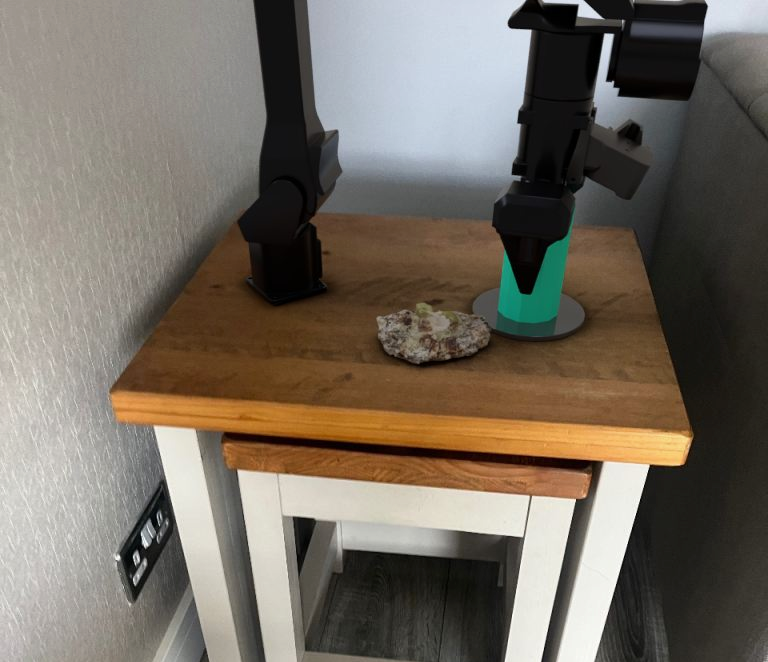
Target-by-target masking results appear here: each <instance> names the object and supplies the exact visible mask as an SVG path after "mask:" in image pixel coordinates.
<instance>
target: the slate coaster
mask: <svg viewBox="0 0 768 662" xmlns="http://www.w3.org/2000/svg"><path fill="white" fill-rule="evenodd" d="M499 295H500V286H499V287H496V288H492V289H489V290H486V291H484V292H483V293H481V294H479V295H478V296H477V297H476V298H475V299H474V301H473V303H472V309H471V310H472V311H471V314H476V315H478V316H483V317H485V318H486V319H487V321H488V325H489V326H490V327H491V328H492V330H491V331H490V333H493V334H495V335H498V336H501V337H504V338H508V339H513V340H517V341H518V340H519V341H526V342H547V341H555V340H560V339H563V338H567V337H569V336H571V335H573V334H575V333H577V332H578V331H579V330H580V329H581V328H582V326H583V325H584V323H585V322H584V321H585V318H586V314H585V310H584V308H583V307H582V305H581V304H580V303H579V302H578V301H577V300H575V299H574V298H573V297H571V296H569V295H567V294H565V293H563V292H561V296H560V302H559V308H558V314H557V316H555V317H554V318H552V319H551V320H550V321H545V322H540V323H525V322H517V321H515V320H512V319H509V318H506V317H504V316H503V315H502V314H501V313H500V312H499V311H498V304H499Z"/></svg>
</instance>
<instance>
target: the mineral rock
mask: <svg viewBox="0 0 768 662" xmlns="http://www.w3.org/2000/svg"><path fill="white" fill-rule="evenodd" d="M375 320H376V322H377V327H378V329H377V339H378V340H379V341H380V342H381V344H382V346H383V350H384V351H385V352H386V353H387V354H388V355H389V356H392V355H393V356H394V357H396V358H399V359H403V360H405V361H408V362H409V363H412V364H414V365H420V363H426V362H432V361H435V362H443V361H446V360H451V359H456V358H461V357H465V356H466V357H471V356H472V355H473V354H475V353H478V351H479V349H484V348H485V347H486V346H488V343H489V341H490V340H491V337H492V335H491V330H492V328H491V327H490V326H489V325H488V321H487V319H486V318H485V317H483V316H478V315H476V314H473V313H471V314H470V313H469V314H467V313H463V312H461V311H455V310H445V311H444V310H440V309H439V310H437V311H434V308H433V306H432V305H430V304H428V303H426V302H419V303H416V305H415V310H410V309H401V310H400V311H397V312H393V313H391V314H388V315H385V316H382V315H381V316H380V315H378V316H377V317H376V319H375Z"/></svg>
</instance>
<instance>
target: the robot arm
mask: <svg viewBox="0 0 768 662" xmlns="http://www.w3.org/2000/svg"><path fill="white" fill-rule="evenodd" d="M583 2H585V3H586V5H587V6H589V7H590V8H591V9H592V10H593V11H594V12H595V13H596V14H597V15H598V16H599V17H600V18H597V17H596V18H595V17H594V18H593V17H587V16H579V8H580V3H566V2H565V3H564V2H563V3H562V2H545V1H543V0H524V2H523V3H522V4H521V5H520V6H519V7H517V9H515V10H514V11H512V13H511V15H510V16H509V18H508V20H507V23H506V24H507V27H508V29H510V30H524V31H525V30H526V31H530V40H529V48H528V55H527V56H528V57H527V64H526V75H525V83H524V92H523V99H522V104H521V106H520V108H519V109H518V111H517V121H516V124H517V125H520V126H519V134H518V141H517V142H518V143H517V151H516V156H515V158H514V159H513V162H512V165H511V173H510V176H514V177H515V176H517V177H520V178H519V180H517V179H514V180H512V181H510V182H509V183H508V184H507V185H506V186H505V187H504V188H502V189H501V191H500V193H499V194H498V196H497V198H496V199H495V201H494V203H493V209H492V210H493V212H492V221H491V227H492V228H493V229H495V232H496V234H498V235H499V238H500V241H501V244H502V245H503V248H504V251H506V254H507V257H508V259H509V262H510V265H511V268H512V271H513V274H514V277H515V280H516V283H517V286H518V289H519V292H520V293H521V294H526V295H531V294H532V292H533V289H534V286H535V283H536V280H537V277H538V275H539V272H540V269H541V266H542V263H543V260H544V257H545V254H546V252H547V249H548V247H549V246H550V245H552V244H553V243H555V242H557V241H561V240H562V239H564V238H565V237H566V236H567V234H568V231H569V228H570V225H571V222H572V217H573V212H574V206H575V207H576V199H577V198H576V197H575V194H576V193H577V192H579V190H581V189H582V188H583V187H584V185H585V182H586V180H587V179H589V180H590V181H593V182H594V183H596V184H598V185H600V186H602V187H604V188H606V189H608V190H609V191H612V192H613V193H614V194H615V196H616V197H618V198H620V199H622V200H625V201H631V200H632V199H633V197H634V196H635V194H636V192H637V191H638V190H639V187H640V186H641V184H642V183H643V181H644V179H645V178H646V176H647V175H648V173H649V171H650V169H651V168H652V166H653V160H654V153H653V152H652V150H651V147H650V146H649V145H645V146H644V145H643V140H644V128H645V127H644V125H643V124H641V123H639V122H637V121H635V120H633V119H632V118H628V119H627V120H626V121H624V123H622V124H621V125H619V126H617V128H616V129H614V128H613V127H612V126H609V127H605V126H602V125H601V124H598V123H596V118H597V112H598V107H597V106H595V101H594V100H595V94H596V88H597V82H598V76H599V70H600V63H601V58H602V52H603V45H604V42H605V41H604V39H605V35H612V39H611V45H610V49H609V56H608V62H607V67H606V74H605V80H604V81H605V83H613V85H612V89H617V90H616V97H617V98H629V99H630V98H631V99H646V100H647V99H648V100H660V101H661V100H663V101H675V102H676V101H677V102H689V101H690V99H691V97H692V95H693V92H694V89H695V85H696V82H697V79H698V75H699V71H700V67H701V64H702V63H701V62H702V59H703V57H702V55H701V50H702V44H703V38H704V32H705V23H706V18H707V13H708V8H709V5H708V3H707V1H706V0H583ZM252 3H253V4H252V5H253V11H254V13H253V14H254V18H255V19H254V21H255V28H256V37H257V46H258V55H259V56H258V57H259V65H260V74H261V83H262V91H263V98H264V108H265V126H264V130H263V131H264V132H263V136H262V141H261V147H260V152H259V159H258V185H257V187H258V189H257V192H258V194H257V195H258V198H257V199H256V200H255V201H254V202H253V203H251V205H250V206H249V207H248V208H247V209H246V210H245V211H244V212H243V214H242V215H240V217H239V218H238V219H237V220H236V223H237V227H238V228H239V230H240V231H239V232H240V233H241V235H242V237H243V241H244V242H245V243H247V245H248V253H249V263H250V271H251V273H250V274H251V275H249V276H246V277H245V283H246V284H247V286H249V287H250V288H252V290H254V291H255V292H256V293H258V294H259V295H260V296H261V297H262V298H263V299H264V300H266V301H267V302H268V303H269V304H270V305H278V304H282V303H287V302H290V301H293V300H297V299H300V298H301V299H302V298H304V297H309V296H312V295H316V294H319V293H323V292H326V291H328V285H327V284H326V283H325V282H324V281H322V280H321V279H323V277H324V271H323V253H322V252H323V249H322V240H321V239H320V238H319V237H318V227H317V226H316V225H315V224H313V223H312V222H310V221H311V220H312V219H313V218H314V217H315V216H317V212H319V210H320V209H321V208H322V206H323V205H324V204H325V202H327V200H328V199H329V197H331V195H332V194H333V192H334V190H335V187H336V184H337V180H338V179H339V177H340V176H341V175H342V174H343V168H342V166H341V163H340V161H339V160H340V159H339V143H340V131H339V129H337V128H336V129H329V130H325V128H324V126H323V123H322V121H321V119H320V116H319V115H318V111H317V107H316V96H315V83H314V72H313V71H314V70H313V58H312V57H313V55H312V43H311V32H310V31H311V30H310V18H309V5H308V0H252Z"/></svg>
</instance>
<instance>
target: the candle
mask: <svg viewBox="0 0 768 662" xmlns="http://www.w3.org/2000/svg"><path fill="white" fill-rule="evenodd" d="M575 213H576V205H575V206H574V212H573V217H572V222H571V225H570V228H569V231H568V234H567V236H566V237H565V238H564V239H562V240H561V241H557V242H555V243H553V244H552V245H550V246H549V247H548V249H547V252H546V254H545V257H544V260H543V263H542V266H541V269H540V272H539V275H538V277H537V280H536V283H535V286H534V289H533V292H532V294H531V295H526V294H521V293H520V292H519V289H518V286H517V283H516V280H515V277H514V274H513V271H512V268H511V265H510V262H509V259H508V257H507V254H506V251H505V250H504V251H503V261H502V270H501V279H500V286H499V287H500V295H499V304H498V311H499V312H500V313H501V314H502V315H503V316H504V317H506V318H509V319H512V320H515V321H517V322H525V323H540V322H545V321H550V320H551V319H552V318H554V317H555V316H557V314H558V308H559V302H560V296H561V293H562V291H563V283H564V277H565V272H566V265H567V259H568V254H569V249H570V243H571V238H572V237H571V235H572V229H573V225H574V218H575V217H574V216H575Z"/></svg>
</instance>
